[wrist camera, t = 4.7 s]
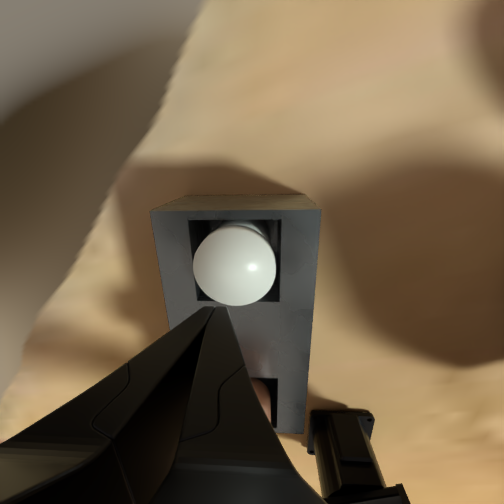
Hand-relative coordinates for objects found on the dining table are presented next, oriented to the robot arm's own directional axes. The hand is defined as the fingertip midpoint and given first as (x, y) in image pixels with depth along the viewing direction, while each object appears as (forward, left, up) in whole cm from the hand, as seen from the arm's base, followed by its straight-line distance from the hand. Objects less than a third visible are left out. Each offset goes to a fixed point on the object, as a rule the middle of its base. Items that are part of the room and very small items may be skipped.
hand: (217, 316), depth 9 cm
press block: (-6, 0, -11) cm, 13 cm away
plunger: (0, 0, -10) cm, 10 cm away
